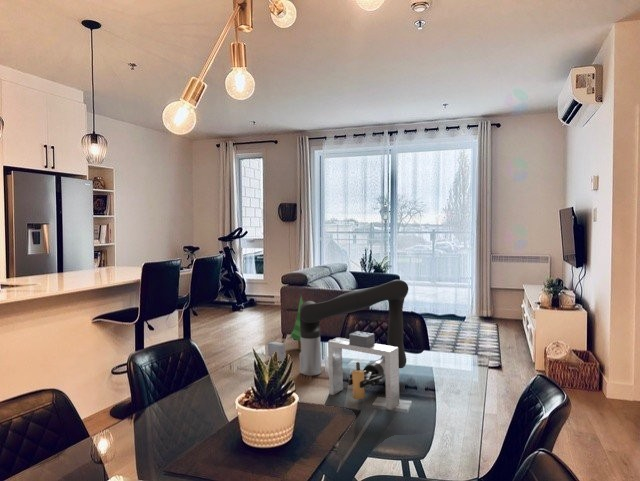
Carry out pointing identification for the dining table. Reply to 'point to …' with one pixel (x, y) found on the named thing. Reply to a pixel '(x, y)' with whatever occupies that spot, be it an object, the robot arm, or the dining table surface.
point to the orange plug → (358, 382)
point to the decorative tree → (297, 327)
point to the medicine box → (277, 350)
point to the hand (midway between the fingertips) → (354, 384)
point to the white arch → (366, 345)
